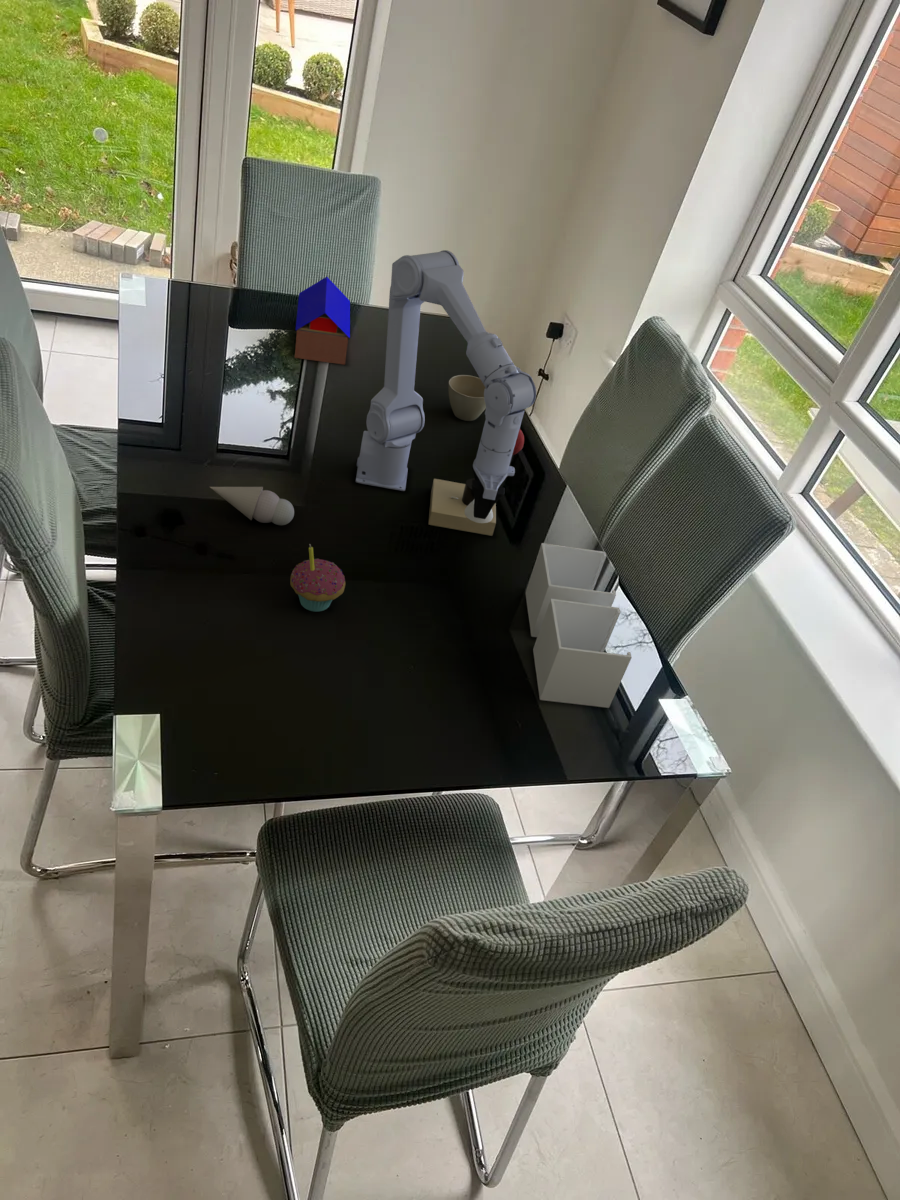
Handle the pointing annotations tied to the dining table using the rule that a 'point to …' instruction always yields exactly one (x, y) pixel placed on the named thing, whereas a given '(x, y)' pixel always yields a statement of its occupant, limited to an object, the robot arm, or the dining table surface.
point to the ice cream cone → (258, 504)
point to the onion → (519, 442)
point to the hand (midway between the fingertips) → (479, 510)
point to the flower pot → (466, 397)
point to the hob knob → (468, 492)
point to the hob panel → (454, 509)
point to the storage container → (573, 628)
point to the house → (322, 323)
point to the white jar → (470, 514)
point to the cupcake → (317, 582)
